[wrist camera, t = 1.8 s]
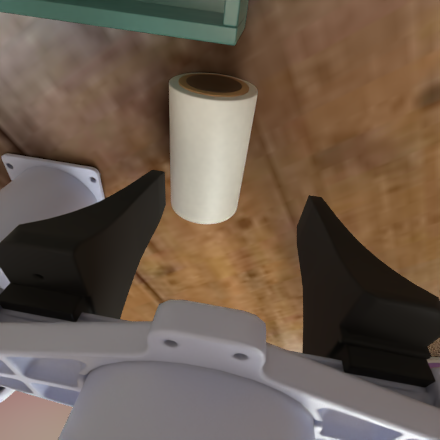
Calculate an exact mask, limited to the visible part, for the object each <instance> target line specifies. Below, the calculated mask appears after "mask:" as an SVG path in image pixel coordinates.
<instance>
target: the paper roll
mask: <svg viewBox="0 0 440 440" xmlns="http://www.w3.org/2000/svg"><path fill="white" fill-rule="evenodd" d="M257 95H258V90H257V88H256V87H255V86H254V85H252V84H251V83H249V82H247V81H245V80H242V79H239V78H236V77H232V76H228V75H222V74H215V73H186V74H180V75H177V76H174V77H173V78H171V79H170V81H169V117H170V175H171V205H172V208H173V210H174V211H175V212H176V213H177V214H178V215H179V216H180V217H182V218H184V219H186V220H188V221H191V222H194V223H199V224H215V223H220V222H223V221H225V220H227V219H229V218H230V217H231V216H233V214H234V213H235V212H236V210H237V205H238V200H239V194H240V189H241V183H242V178H243V172H244V167H245V161H246V156H247V150H248V145H249V139H250V134H251V128H252V123H253V117H254V112H255V106H256V101H257Z"/></svg>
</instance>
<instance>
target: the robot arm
mask: <svg viewBox="0 0 440 440" xmlns="http://www.w3.org/2000/svg"><path fill="white" fill-rule="evenodd" d="M1 158H2V161H3V163H4V165H5V167H6V169H7V172H8V174H9V176H10V178H11V180H12V181H11V182H10V183H9V184H8V185H6V186H5V187H4V188H2V189H1V190H0V403H1V402H2V401H4V400H5V399H6V398H7V397H9V396H10V395H11V394H12V393H14V392H15V391H20V392H23V393H26V394H30V395H33V396H37V397H40V398H44V399H47V400H50V401H54V402H57V403H61V404H65V405H68V406H71V407H73V408H72V410H71V413H70V415H69V417H68V419H67V421H66V424H65V425H64V427H63V430H62V432H61V434H60V436H59V438H58V440H440V367H434V368H430V366H429V364H428V361H427V359H429V358H431V354H430V352H429V350H428V347H427V346H429V345H430V344H431V343H433V342H434V341H435V340H437V339H438V338H439V337H440V301H439V299H438V297H436V296H435V295H433V294H431V293H429V292H428V291H426V290H424V289H422V288H421V287H419V286H417V285H415V284H414V283H412V282H410V281H409V280H407V279H406V278H404V277H403V276H401V275H400V274H398V273H397V272H395V271H394V270H392V269H391V268H390V267H388V266H387V265H386V264H384V263H383V262H382V261H380V260H379V259H378V258H377V257H375V256H374V255H373V254H372V253H371V252H370V251H369V250H367V249H366V248H365V247H364V246H363V245H362V244H361V243H360V242H359V241H358V240H357V239H356V238H355V237H354V236H353V235H352V234H351V233H350V232H349V231H348V230H347V228H346V227H345V226H344V225H343V224H342V223H341V221H340V220H339V219H338V218H337V216H336V215H335V214H334V213H333V211H332V210H331V209H330V207H329V206H328V205H327V204H326V202H325V201H324V200H323V199H322V197H316V196H310V195H309V197H308V199H307V202H306V204H305V207H304V210H303V212H302V215H301V217H300V220H299V223H298V225H297V248H298V255H299V262H300V269H301V276H302V285H303V353H299V352H294V351H288V350H285V349H282V348H280V347H277V346H275V345H272V344H269V343H267V342H266V325H265V323H264V322H263V321H262V320H261V319H260V318H258V317H257V316H256V315H254V314H251V313H249V312H246V311H242V310H236V309H231V308H225V307H220V306H214V305H209V304H203V303H198V302H192V301H187V300H169V301H166V302H164V303H161V304H159V306H158V308H157V311H156V314H155V316H154V319H153V321H143V322H132V321H126V320H121V319H120V317H121V314H122V310H123V307H124V304H125V301H126V298H127V295H128V292H129V289H130V286H131V284H132V281H133V278H134V275H135V272H136V270H137V267H138V265H139V262H140V259H141V257H142V255H143V253H144V251H145V249H146V247H147V245H148V243H149V241H150V239H151V237H152V235H153V234H154V232H155V230H156V228H157V226H158V224H159V222H160V219H161V217H162V214H163V211H164V208H165V205H166V201H165V172H163V171H156V170H152V171H150V172H148V173H147V174H145V175H144V176H142V177H141V178H139V179H138V180H136V181H135V182H133V183H132V184H130V185H128V186H127V187H125V188H124V189H122V190H120V191H118V192H117V193H115V194H113V195H111V196H109V197H107V198H105V197H104V192H103V188H102V183H101V178H100V173H99V171H98V170H97V169H96V168H94V167H90V166H83V165H77V164H71V163H65V162H59V161H53V160H47V159H41V158H34V157H28V156H22V155H16V154H10V153H6V154H4V155H2V157H1ZM92 177H93V178H95V180H94V179H93V178H92Z"/></svg>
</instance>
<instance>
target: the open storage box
mask: <svg viewBox="0 0 440 440" xmlns="http://www.w3.org/2000/svg"><path fill="white" fill-rule="evenodd" d="M248 1H249V0H0V12H4V13H11V14H18V15H25V16H32V17H39V18H46V19H53V20H60V21H67V22H74V23H81V24H88V25H95V26H102V27H109V28H115V29H122V30H129V31H136V32H143V33H150V34H157V35H164V36H171V37H178V38H185V39H192V40H199V41H206V42H213V43H219V44H226V45H233V46H235V45H236V43H237V41H238V39H239V38H240V36H241V34H242V32H243V30H244V29H245V24H246V16H247V9H248Z"/></svg>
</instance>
